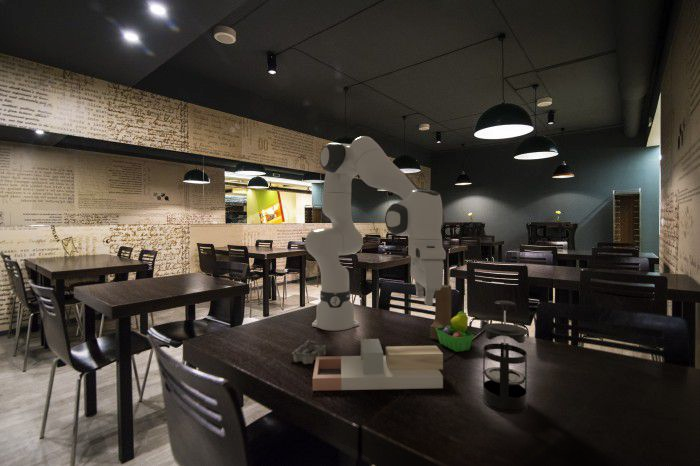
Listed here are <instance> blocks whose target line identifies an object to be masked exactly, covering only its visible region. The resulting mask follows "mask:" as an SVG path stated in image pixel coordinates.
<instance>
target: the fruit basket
mask: <svg viewBox="0 0 700 466" xmlns="http://www.w3.org/2000/svg"><path fill="white" fill-rule="evenodd" d="M468 320H469V317H468V315H467V313H466V312H463V311H459V312H458V313H457V314H456V315H454V316H453V317H451V326H446V327H439V328H436V332H437V334H438V338H439V340H438V341H439V344H440V345H442V346H444V347H446V348H448V349H450V350H451V351H454V352H456V353H457V352H458V353H459V352H464V351H470V348H471V345H472V342H473V339H474V337H475V335H474V334H473V333H471V332H469V331H467V329H468V322H469V321H468Z"/></svg>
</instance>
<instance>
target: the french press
mask: <svg viewBox="0 0 700 466" xmlns="http://www.w3.org/2000/svg"><path fill="white" fill-rule="evenodd" d="M494 304H495V305H498V306H502V311H503V323H500V322H499V323H497V322H496V323H495V322H494V323H493V322H492V323H491V322H490V323H486V324H484V325H483V330H484V331H485V335H484V336H485V338H486V339H488V340H493V339H495V338H497V337H501V336H503V342H500V343H488V344H485V345H484V346H483V347H482V350H483V351H482V353H483V359H482V360H483V362H482V366H483V367H482V371H483V372H482V377H483V378H482V383H483V384H482V396H481V400H482V403H483V404H484V405H485V406H487V407H488V408H490V409H491V410H494V411H497V412H499V413H504V414H510V415H512V414H513V415H514V414H515V415H516V414H517V415H518V414H522V413H525V412H526V411H527V410H528V407H529V406H528V403H527V399H528V398H527V392H528V391H527V390H528V389H527V387H528V384H527V380H528V379H527V378H528V377H527V373H528V372H527V371H528V368H527V367H528V366H527V365H528V364H527V363H528V352H527V351H526V350H525V349H524V348H522V347H519V346H516V345H513V344H510V343H508V342H506V341H507V340H506V337H508V338H511V339H513V340H514V341H515V342H517V343H518V344H523V343H524V342H525V341H526V340H525V339H526V335H527V334H528V330H527V329H525V328H524V327H521V326H519V325H516V324H510V323H507V320H506V319H507V315H506V313H507V311H508V307H512V306H515V305H516V303H515V302H513V301H510V300H496V301H495V302H494ZM490 350H500V355H497V354H494V353H491V352H489V351H490ZM510 352H514V353H517V354H520V355H521V356H518V357H510ZM485 359H488V360H491V361H494V362H497V363H499V366H495V367H494V366H491V367H488V368H486V367H485V366H486V365H485V364H486V360H485ZM523 363H524V368H525V369H524V374H523V373H522V372H520V371H519V370H518V371H517V370H515V369H511V368H510V365H516V364H517V365H518V364H523ZM485 368H486V369H485ZM485 377H486V379H488V380H485ZM523 384H524V387H523V386H522V385H523Z"/></svg>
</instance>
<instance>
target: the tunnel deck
mask: <svg viewBox="0 0 700 466" xmlns="http://www.w3.org/2000/svg"><path fill="white" fill-rule="evenodd" d="M410 389H419V390H420V389H444V376H443V374H442V373H441V371H440V369H427V370H389V369H388V366H387V363H386V354H385V355H384V350H383V349H382V345H381V341H380V340H379V338H360V355H342V356H341V355H340V356H339V355H338V356H337V355H334V356H329V355H328V356H326V355H324V356H320V357H316V359H315V363H314V368H313V373H312V392H314V391H317V392H318V391H358V390H359V391H361V390H370V391H371V390H410Z"/></svg>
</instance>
